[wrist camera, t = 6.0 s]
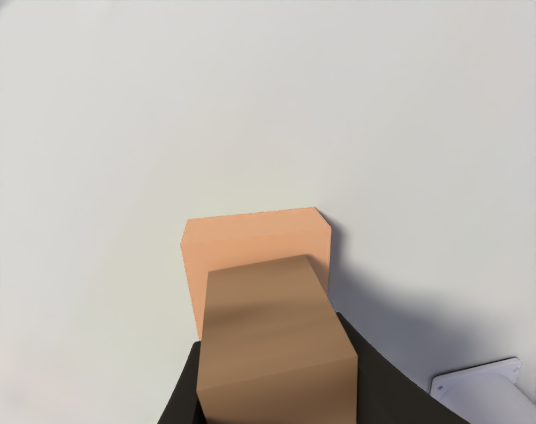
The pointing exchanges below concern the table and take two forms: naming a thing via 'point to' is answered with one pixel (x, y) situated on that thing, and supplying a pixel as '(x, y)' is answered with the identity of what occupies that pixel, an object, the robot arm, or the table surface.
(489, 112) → the table surface
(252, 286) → the walnut block
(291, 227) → the terracotta block
